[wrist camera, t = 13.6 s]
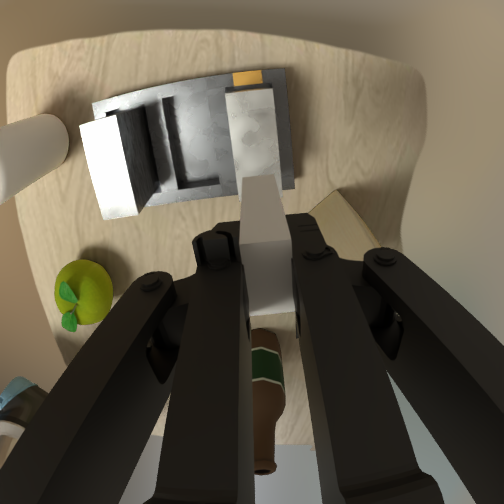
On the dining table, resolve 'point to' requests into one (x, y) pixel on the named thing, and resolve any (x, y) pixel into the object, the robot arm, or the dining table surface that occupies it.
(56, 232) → the dining table surface
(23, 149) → the potion bottle
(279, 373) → the beer bottle
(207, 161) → the rack
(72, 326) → the fruit
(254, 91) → the silver rectangular block
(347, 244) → the cream tall block
